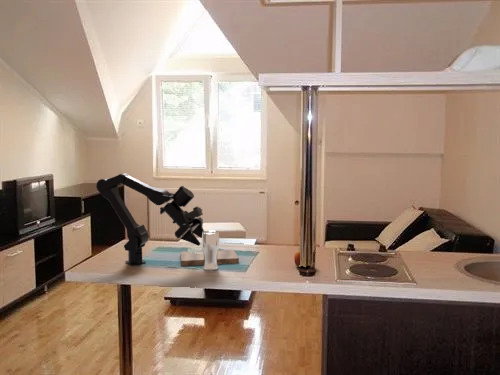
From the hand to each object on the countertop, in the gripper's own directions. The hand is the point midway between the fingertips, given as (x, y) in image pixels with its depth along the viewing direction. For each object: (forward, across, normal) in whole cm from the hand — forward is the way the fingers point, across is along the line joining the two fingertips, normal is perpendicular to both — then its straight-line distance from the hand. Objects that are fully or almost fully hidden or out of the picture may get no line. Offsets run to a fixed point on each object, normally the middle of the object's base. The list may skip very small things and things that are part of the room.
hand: (203, 242), depth 193 cm
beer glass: (+10, 0, +6) cm, 11 cm away
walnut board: (+6, +13, +9) cm, 17 cm away
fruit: (+36, +11, -20) cm, 42 cm away
